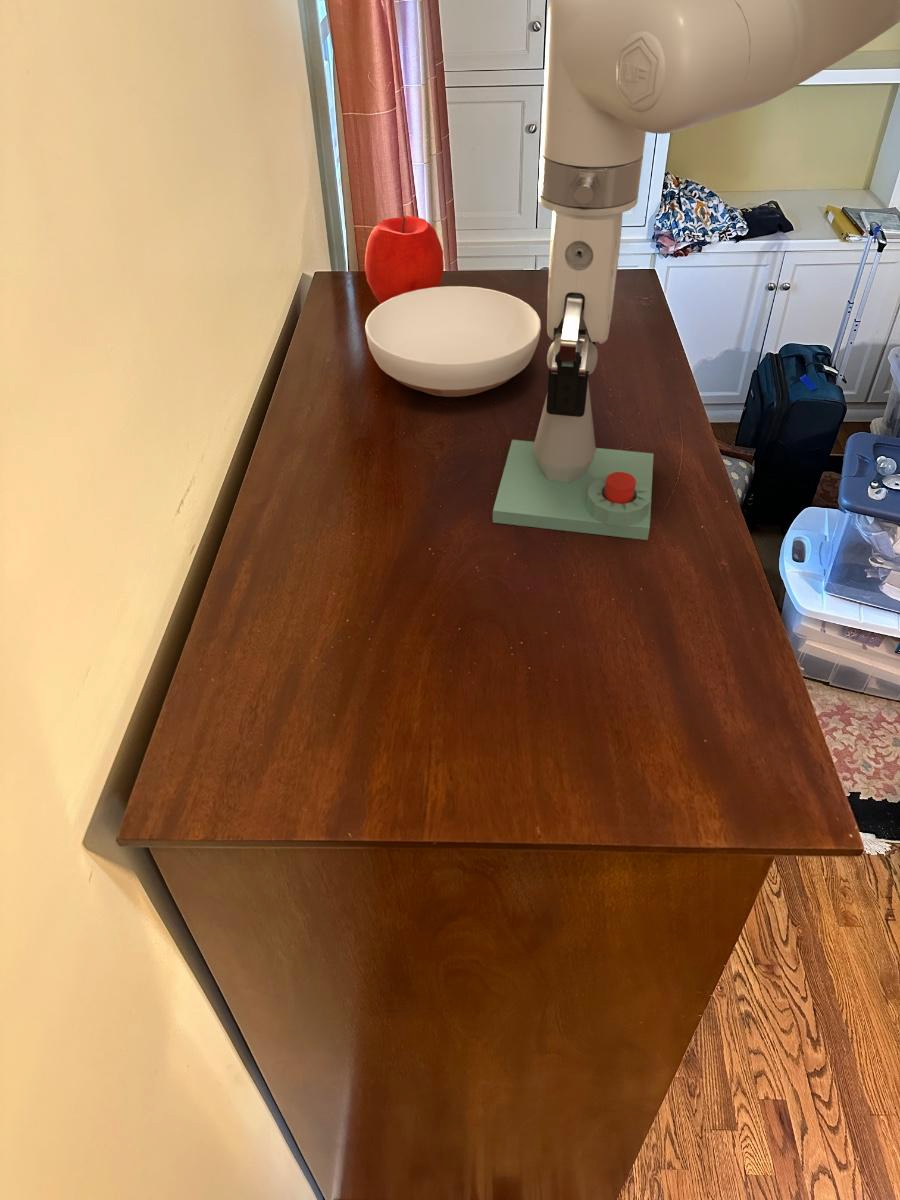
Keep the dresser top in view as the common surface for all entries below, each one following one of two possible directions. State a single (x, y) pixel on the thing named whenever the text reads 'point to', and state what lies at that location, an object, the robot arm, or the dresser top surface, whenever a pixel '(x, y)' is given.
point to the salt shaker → (566, 435)
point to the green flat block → (575, 495)
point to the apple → (403, 257)
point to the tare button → (620, 487)
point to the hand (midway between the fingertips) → (570, 385)
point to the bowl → (453, 339)
